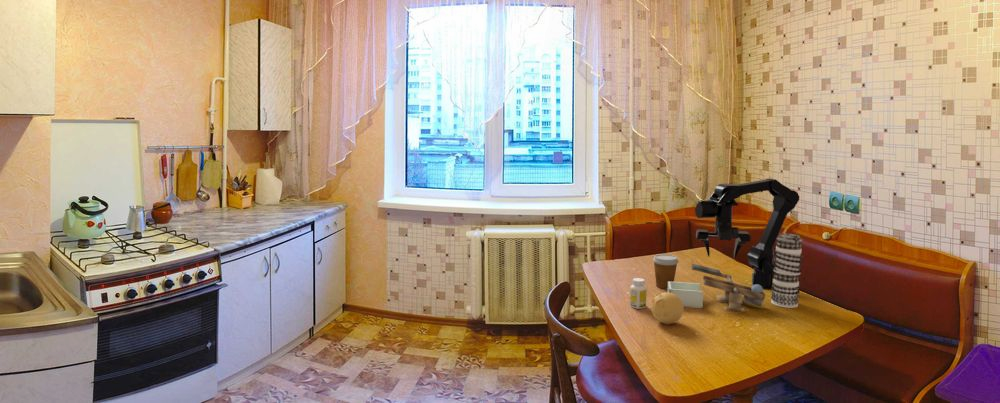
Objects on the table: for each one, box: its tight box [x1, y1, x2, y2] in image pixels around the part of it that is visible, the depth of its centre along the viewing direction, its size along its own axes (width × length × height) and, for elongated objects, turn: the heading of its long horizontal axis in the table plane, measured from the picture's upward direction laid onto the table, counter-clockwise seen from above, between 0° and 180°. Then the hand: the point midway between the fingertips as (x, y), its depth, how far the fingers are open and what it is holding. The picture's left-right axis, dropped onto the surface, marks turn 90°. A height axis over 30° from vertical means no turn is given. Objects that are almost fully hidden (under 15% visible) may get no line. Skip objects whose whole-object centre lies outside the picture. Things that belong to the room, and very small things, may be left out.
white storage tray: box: [666, 281, 704, 309], centre depth 180 cm, size 11×9×6 cm
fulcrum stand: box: [716, 290, 745, 312], centre depth 177 cm, size 8×13×6 cm, turn 165°
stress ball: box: [650, 291, 685, 325], centre depth 161 cm, size 10×10×10 cm
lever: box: [691, 263, 766, 307], centre depth 180 cm, size 23×19×5 cm
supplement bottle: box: [629, 277, 647, 310], centre depth 176 cm, size 5×5×10 cm
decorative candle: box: [770, 232, 804, 309], centre depth 176 cm, size 9×9×25 cm
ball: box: [751, 284, 764, 293], centre depth 173 cm, size 4×4×4 cm
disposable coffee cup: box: [652, 253, 679, 290], centre depth 197 cm, size 10×10×12 cm
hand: (721, 257), depth 193 cm, fingers open, 9 cm apart
